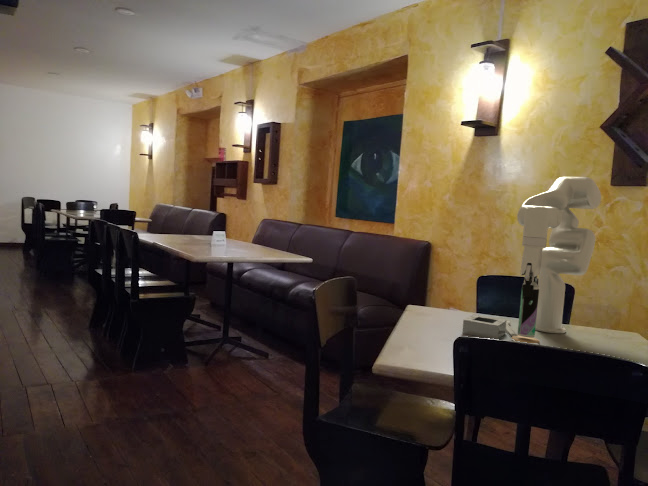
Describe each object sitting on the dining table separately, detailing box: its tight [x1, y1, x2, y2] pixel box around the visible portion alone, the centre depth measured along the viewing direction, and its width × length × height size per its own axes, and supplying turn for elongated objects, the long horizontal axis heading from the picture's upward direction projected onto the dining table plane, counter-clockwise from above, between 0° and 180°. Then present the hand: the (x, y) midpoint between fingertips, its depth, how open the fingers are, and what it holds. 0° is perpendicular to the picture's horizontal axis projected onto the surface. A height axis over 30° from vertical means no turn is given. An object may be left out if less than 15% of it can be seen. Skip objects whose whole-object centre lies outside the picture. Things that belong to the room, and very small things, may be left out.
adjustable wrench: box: [501, 318, 519, 337], centre depth 189 cm, size 25×6×2 cm, turn 167°
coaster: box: [511, 335, 541, 344], centre depth 173 cm, size 9×9×1 cm
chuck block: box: [462, 314, 507, 340], centre depth 180 cm, size 12×12×5 cm
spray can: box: [517, 278, 539, 338], centre depth 172 cm, size 6×6×20 cm
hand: (529, 295), depth 172 cm, fingers closed on spray can, 5 cm apart
